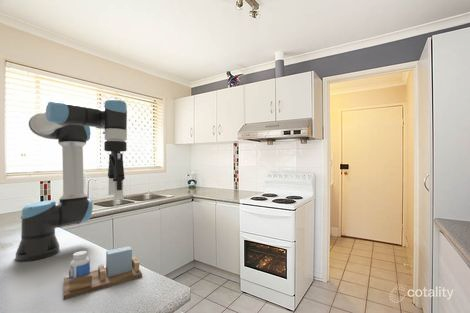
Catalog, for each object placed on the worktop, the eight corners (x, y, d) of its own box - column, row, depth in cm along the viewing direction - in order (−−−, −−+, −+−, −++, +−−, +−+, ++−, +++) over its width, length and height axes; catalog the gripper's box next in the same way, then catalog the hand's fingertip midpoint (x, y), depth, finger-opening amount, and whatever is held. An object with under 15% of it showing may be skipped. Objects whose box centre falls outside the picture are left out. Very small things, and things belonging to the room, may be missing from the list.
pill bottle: (93, 277, 81) (93, 249, 82) (83, 285, 76) (83, 256, 76) (77, 277, 81) (77, 249, 81) (66, 286, 76) (66, 256, 76)
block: (106, 272, 85) (106, 250, 85) (129, 266, 90) (129, 246, 90) (107, 277, 82) (107, 254, 82) (131, 270, 86) (132, 249, 87)
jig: (63, 281, 81) (63, 268, 81) (133, 263, 95) (133, 253, 95) (63, 299, 71) (63, 285, 71) (141, 276, 84) (142, 264, 84)
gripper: (100, 142, 96) (100, 193, 95) (109, 137, 75) (109, 202, 75) (120, 143, 100) (120, 192, 100) (134, 139, 80) (133, 200, 80)
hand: (115, 197), depth 87 cm, fingers open, 13 cm apart
